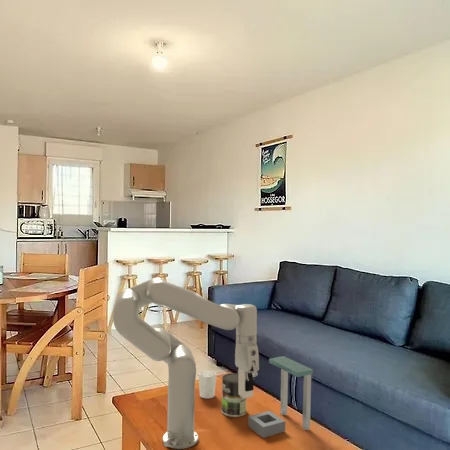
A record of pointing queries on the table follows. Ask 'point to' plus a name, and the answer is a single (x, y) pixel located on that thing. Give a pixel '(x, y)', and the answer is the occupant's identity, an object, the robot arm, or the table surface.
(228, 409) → the coffee can
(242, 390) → the peg
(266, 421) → the socket
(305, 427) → the green-topped leg bench
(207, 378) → the white cup
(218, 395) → the table surface
